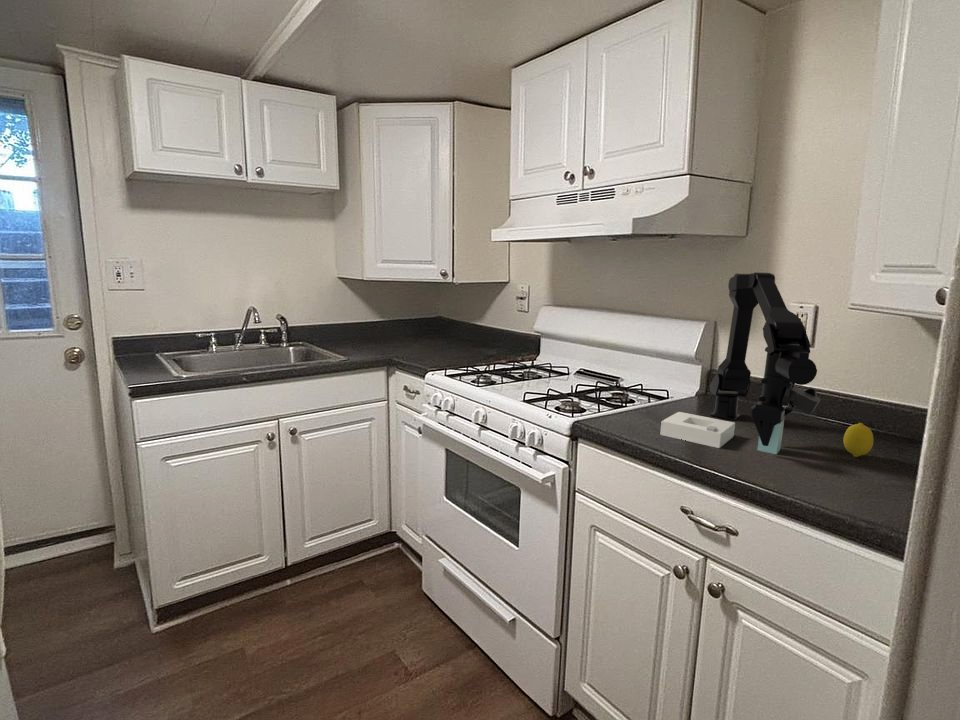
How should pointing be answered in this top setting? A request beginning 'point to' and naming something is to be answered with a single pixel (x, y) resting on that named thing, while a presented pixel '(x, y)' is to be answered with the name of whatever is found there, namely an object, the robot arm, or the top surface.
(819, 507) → the top surface
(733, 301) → the robot arm
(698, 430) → the socket plate
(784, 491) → the top surface
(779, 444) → the plug
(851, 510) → the top surface
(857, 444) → the lemon
